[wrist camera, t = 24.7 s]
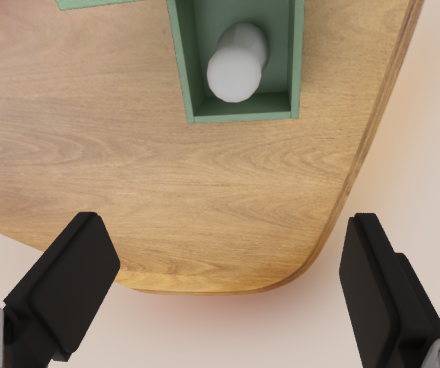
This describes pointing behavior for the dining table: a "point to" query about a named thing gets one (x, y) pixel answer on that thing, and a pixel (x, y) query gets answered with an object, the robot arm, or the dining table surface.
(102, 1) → the lid
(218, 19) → the holder
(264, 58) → the salt shaker
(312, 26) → the dining table surface
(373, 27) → the dining table surface
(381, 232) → the robot arm
